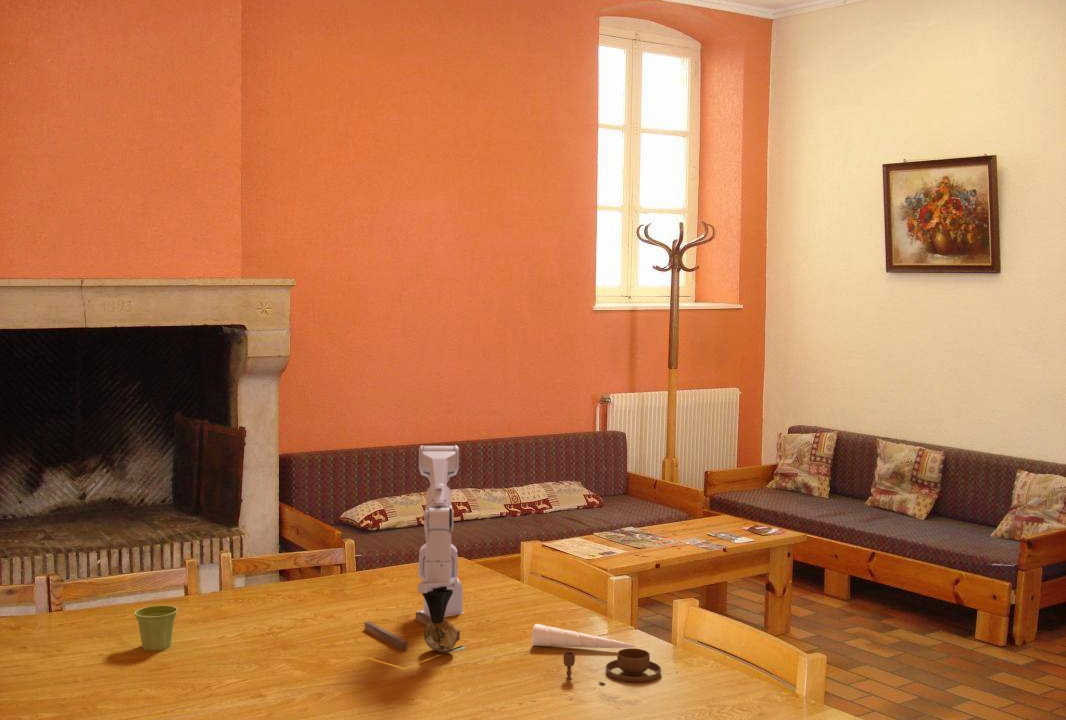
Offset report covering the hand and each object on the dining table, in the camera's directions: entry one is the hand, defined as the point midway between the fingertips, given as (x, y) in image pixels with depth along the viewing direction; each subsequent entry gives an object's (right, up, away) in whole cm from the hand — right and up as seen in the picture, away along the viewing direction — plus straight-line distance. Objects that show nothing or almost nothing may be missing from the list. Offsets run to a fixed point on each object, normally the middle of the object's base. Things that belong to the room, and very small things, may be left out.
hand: (437, 622), depth 245 cm
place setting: (+39, -9, -8) cm, 41 cm away
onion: (-1, -2, +4) cm, 5 cm away
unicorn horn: (+37, -12, +7) cm, 39 cm away
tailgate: (-2, -7, +6) cm, 10 cm away
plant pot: (-64, -7, +4) cm, 65 cm away
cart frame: (-7, -7, +14) cm, 17 cm away
